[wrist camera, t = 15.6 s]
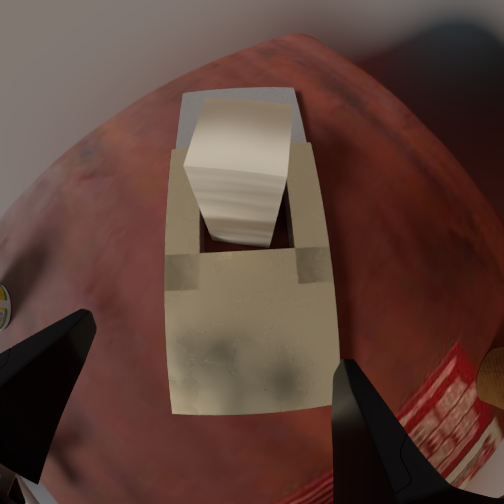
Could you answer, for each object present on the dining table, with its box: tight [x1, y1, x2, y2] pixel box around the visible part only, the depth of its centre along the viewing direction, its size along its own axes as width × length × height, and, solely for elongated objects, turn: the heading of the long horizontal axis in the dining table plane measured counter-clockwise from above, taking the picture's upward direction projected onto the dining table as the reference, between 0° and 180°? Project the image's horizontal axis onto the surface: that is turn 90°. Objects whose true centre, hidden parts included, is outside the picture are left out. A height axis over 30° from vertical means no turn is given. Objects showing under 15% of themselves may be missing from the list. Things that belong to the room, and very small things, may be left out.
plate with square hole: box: [165, 87, 340, 415], centre depth 21 cm, size 30×12×2 cm, turn 3°
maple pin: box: [183, 97, 293, 248], centre depth 17 cm, size 5×5×11 cm
